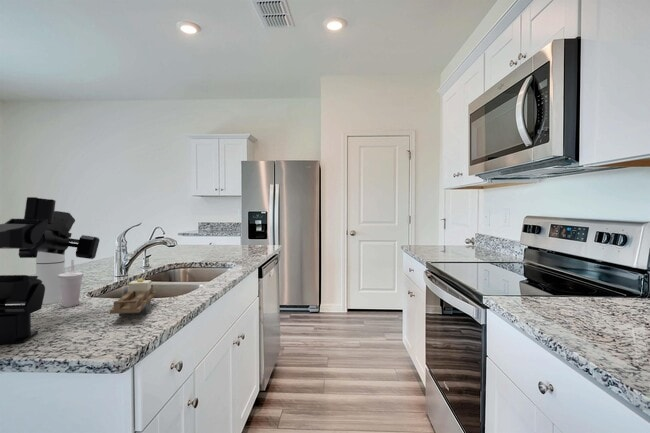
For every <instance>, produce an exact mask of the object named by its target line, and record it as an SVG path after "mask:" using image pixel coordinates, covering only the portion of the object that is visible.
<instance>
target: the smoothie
mask: <svg viewBox="0 0 650 433" xmlns="http://www.w3.org/2000/svg"><path fill="white" fill-rule="evenodd" d="M74 262H75V260H74V259H71V262H70V263H71V266H70V267H71V271H70V272H65V273H63V274H59V275H58V279H59V281H60V288H61V294H62V306H64V307H63V308H72V306H73V307H76V305H77V306H79V302H80V301H79V300H80V294H81V288H82V280H83V277H84V273H83V272H81V271H80V272H79V271H76V272H75V271H74V270H75V269H74V267H75V266H74V265H75V263H74Z"/></svg>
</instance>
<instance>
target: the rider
mask: <svg viewBox="0 0 650 433" xmlns="http://www.w3.org/2000/svg"><path fill="white" fill-rule="evenodd" d="M151 285H152V280H150V279H149V280H146V279H144V278H137V279H136V280H131V281H130V282H129V283H128V292H132V291H135V296H138V295H139V294H140V293H141V292H142V291H148V290H149V289H150V288H151Z"/></svg>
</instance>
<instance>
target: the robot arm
mask: <svg viewBox="0 0 650 433" xmlns="http://www.w3.org/2000/svg"><path fill="white" fill-rule="evenodd" d="M25 202H26V203H25V209H24V217H23V218H10V219H9V220H7V221H6V222H4V223H1V224H0V249H2V250H3V249H6V250H7V249H12V250H13V249H16V250H17V249H18V257H19V258H20V259H26V258H27V259H33V258H34V259H36V257H37V253H38V252H47V253H55V254H63V255H64V253H65V254H66V251H67V249H68V248H69V247H70V248H76V250H75V256H76V257H75V258H80V259H81V258H82V259H89V260H94V259H95V258H96V256H97V252H98V249H99V243H100V238H99V237H98V236H97V237H96V236H92V235H91V236H90V235H86V234H85V235H84V234H82V235H81V236H80V237H79V239H77V238H71V237H72V234H73V233H71V232H70V231H71V230H72V227H73V225H74V224H75V222H76V219H75V218H74V217H73V215H72V214H71V213H70V212H65V211H58V210H56V204H57V202H56V200H55V199H52V198H51V199H47V198H41V197H40V198H39V197H35V196H33V197H32V196H27V198H26V200H25ZM37 277H38V276H36V275H27V274H12V275H11V274H7V275H6V274H4V275H2V274H1V275H0V345H6V344H7V345H8V344H9V345H11V344H21V343H25V342H26V341H27V340H30V339H31V338H32V337H34V336H36V335H37V334H38V333H39V330H32V328H31V327H32V326H31V325H32V323H31V322H32V318H31V317H32V314H33V313H35V312H37V311H39V310H42V306H43V304H42V303H43V298H44V293H45V286H44V284H42V281H41V280H40V279H37Z"/></svg>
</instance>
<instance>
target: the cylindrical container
mask: <svg viewBox="0 0 650 433" xmlns="http://www.w3.org/2000/svg"><path fill="white" fill-rule="evenodd" d="M65 255H66V252H65V253H64V255H63V254H55V253H47V252H38V253H37V257H36V258H35V276H38V277H37V279H40V280H41V281H42V284H44V286H45V293H44V298H43V303H42V305H52V304H53V305H54V304H57V303H58V302H59V303H61V302H62V303H63V301H62V294H61V288H60V281H59V279H58V275H59V274H63V273H66V271H65V270H66V268H65V267H66V266H65V264H66V258H65V257H66V256H65Z"/></svg>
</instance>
